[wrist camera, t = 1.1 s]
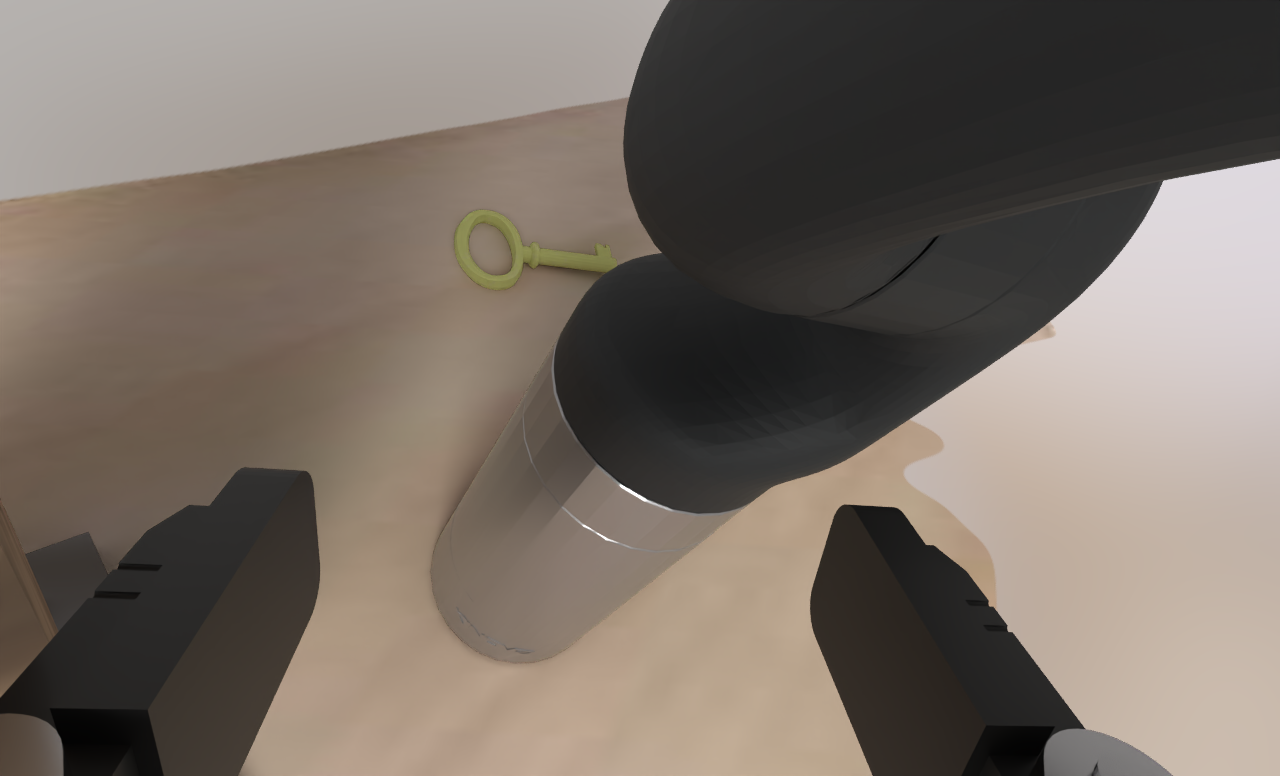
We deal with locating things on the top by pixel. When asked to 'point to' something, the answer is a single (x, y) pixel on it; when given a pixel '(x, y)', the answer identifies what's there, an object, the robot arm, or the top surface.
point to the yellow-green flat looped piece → (521, 253)
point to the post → (40, 594)
